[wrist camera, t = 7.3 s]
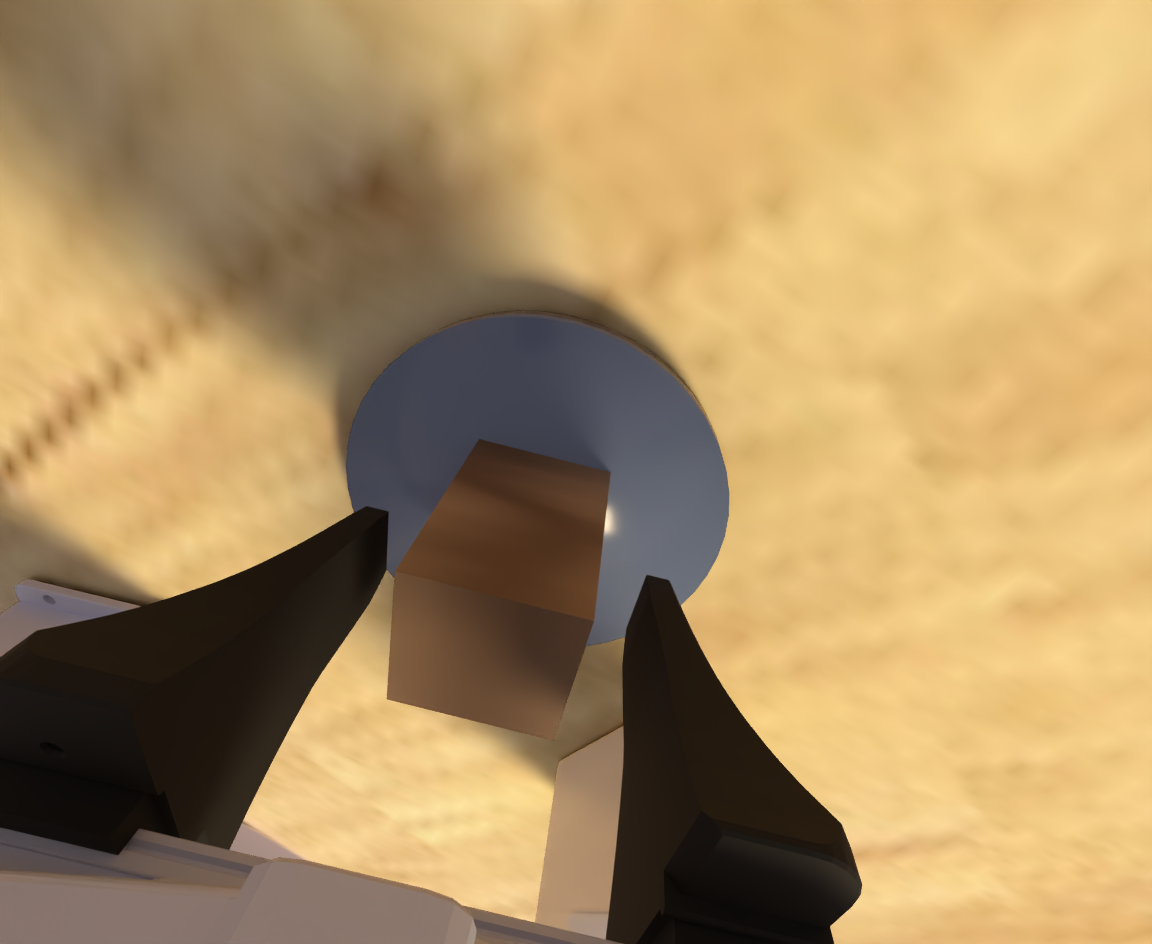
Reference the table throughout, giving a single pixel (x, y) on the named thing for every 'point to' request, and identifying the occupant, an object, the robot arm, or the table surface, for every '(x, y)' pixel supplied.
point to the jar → (583, 839)
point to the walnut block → (500, 591)
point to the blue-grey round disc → (550, 442)
